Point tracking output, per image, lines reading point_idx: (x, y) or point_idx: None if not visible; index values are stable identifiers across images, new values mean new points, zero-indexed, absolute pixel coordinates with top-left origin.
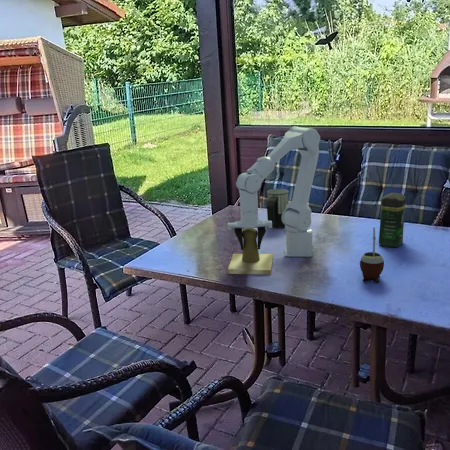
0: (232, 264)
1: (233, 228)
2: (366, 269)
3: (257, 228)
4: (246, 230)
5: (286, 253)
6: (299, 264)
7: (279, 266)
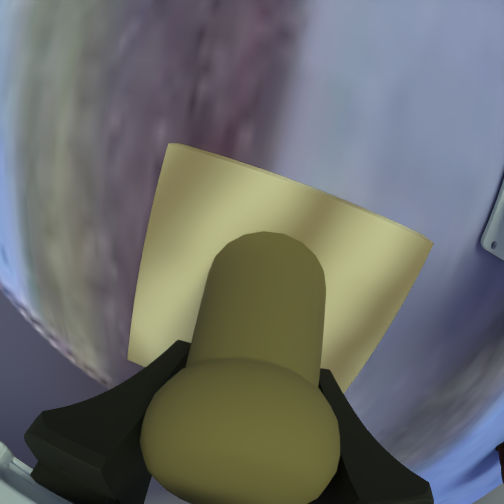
0: (148, 316)
1: (37, 483)
2: (502, 477)
3: (348, 497)
4: (184, 497)
5: (498, 222)
6: (474, 345)
7: (396, 348)
